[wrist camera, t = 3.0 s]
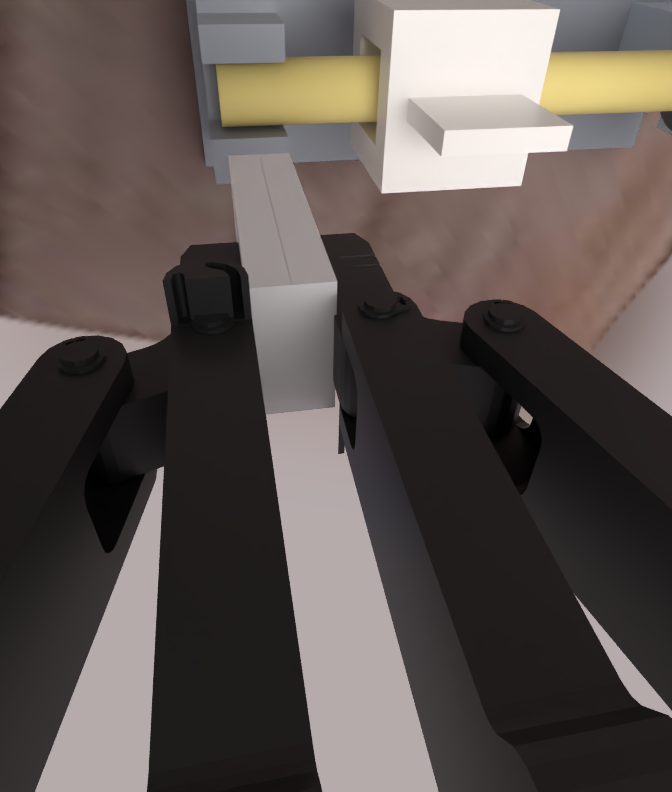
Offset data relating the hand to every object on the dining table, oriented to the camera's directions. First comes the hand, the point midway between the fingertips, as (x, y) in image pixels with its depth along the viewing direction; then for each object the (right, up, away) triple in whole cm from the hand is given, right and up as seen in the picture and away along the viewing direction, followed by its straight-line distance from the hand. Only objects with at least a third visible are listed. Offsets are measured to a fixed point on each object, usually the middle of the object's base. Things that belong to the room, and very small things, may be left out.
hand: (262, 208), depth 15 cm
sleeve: (+6, +10, +11) cm, 16 cm away
